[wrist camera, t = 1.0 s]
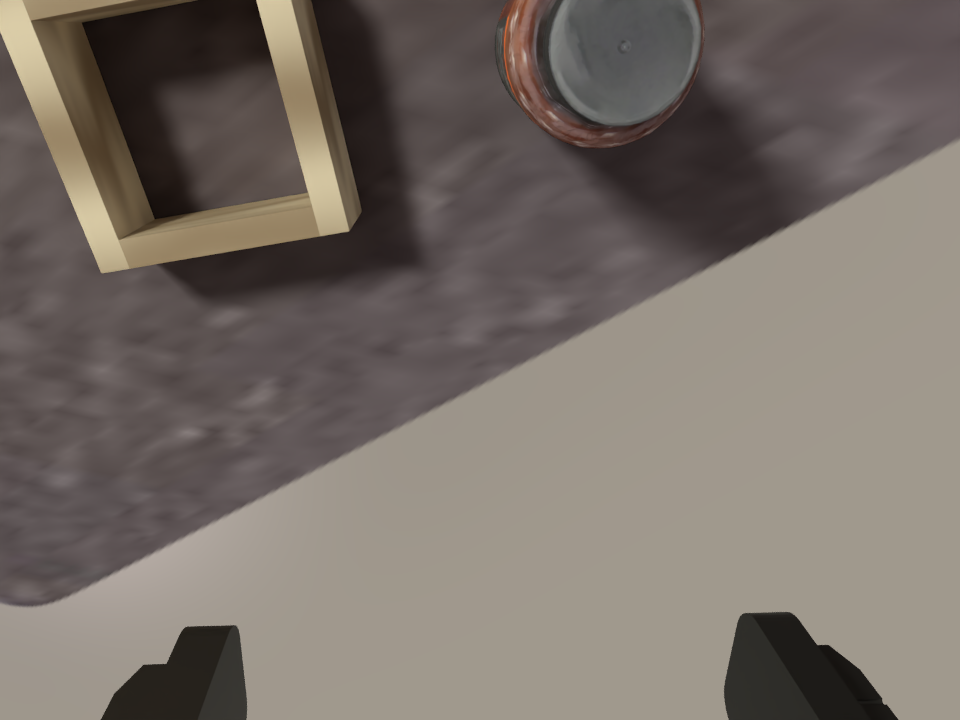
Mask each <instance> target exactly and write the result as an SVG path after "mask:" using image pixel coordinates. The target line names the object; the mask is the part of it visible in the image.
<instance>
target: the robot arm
mask: <svg viewBox="0 0 960 720" xmlns="http://www.w3.org/2000/svg"><path fill="white" fill-rule="evenodd" d="M724 698H725V705H726V711H727V715H728V718H729V720H898V719H897V717H896V716H895V715H894V713H893V712H892V711H891V710H890V708H889V707H888V706H887V705H884V704H883V702H882V698H881V697H880V695H879V694H878V693H877V691H876V690H875V689H874V687H873V686H872V685H871V683H870V682H869V681H868V680H867V678H866V677H865V676H864V674H863V673H862V672H861V670H860V669H858V668H857V667H856V666H855V665H853V664H852V663H851V662H850V661H848V660H847V659H846V658H844V657H843V656H842V655H841V654H839V653H838V652H836V651H835V650H834V649H833V648H832V647H830V646H829V645H817V644H816V643H815V642H814V640H813V639H812V638H811V636H810V635H809V633H808V632H807V631H806V629H805V628H804V626H803V625H802V624H801V622H800V621H799V620H798V618H797V617H796V616H795V615H793V614H792V613H789V612H776V613H775V612H774V613H773V612H772V613H745V614H742V615H741V616H740V618H739V620H738V623H737V628H736V632H735V637H734V642H733V647H732V652H731V656H730V661H729V666H728V670H727V675H726V680H725V686H724ZM246 718H247V698H246V689H245V679H244V670H243V661H242V652H241V643H240V635H239V630H238V628H237V627H236V626H234V625H233V626H197V627H196V626H195V627H185V628H184V629H183V631H182V632H181V634H180V635H179V638H178V640H177V642H176V644H175V646H174V649H173V651H172V653H171V655H170V657H169V660H168V662H167V664H152V665H143V666H142V667H141V668H140V669H139V670H138V671H137V672H136V673H135V674H134V675H133V676H132V677H131V678H130V679H129V680H128V681H127V682H126V683H125V684H124V685H123V686H122V687H121V688H120V689H119V690H118V691H117V692H116V693H115V694H114V696H113V697H112V699H111V701H110V703H109V705H108V707H107V709H106V711H105V713H104V715H103V717H102V719H101V720H246Z"/></svg>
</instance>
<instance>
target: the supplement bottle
mask: <svg viewBox="0 0 960 720" xmlns="http://www.w3.org/2000/svg"><path fill="white" fill-rule="evenodd" d="M704 30H705V29H704V20H703V13H702V7H701V2H700V0H507V3H506V5H505V6H504V8H503V11H502V13H501V16H500V19H499V22H498V25H497V29H496V34H495V55H496V63H497V67H498V71H499V74H500V77H501V80H502V82H503V84H504V86H505V88H506V90H507V91H508V93H509V95H510V96H511V97H512V99H513V100H514V101H515V102H516V103H517V104H518V106H520V108H521V109H522V110H523V111H524V112H525V113H526V115H528V117H529V118H530V119H531V120H532V121H533V122H534V123H535V124H537V125H538V126H539V127H540V128H542V129H543V130H544V131H546V132H547V133H549V134H550V135H552V136H553V137H555V138H557V139H559V140H561V141H563V142H566V143H569V144H571V145H575V146H578V147H584V148H612V147H618V146H620V145H625V144H627V143H630V142H633V141H635V140H639V139H640V138H643V137H644V136H646V135H649V134H650V133H652V132H653V131H654V130H655V129H656V128H658V127H659V126H661V125H662V124H663V123H664V122H665V121H666V120H667V119H668V118H669V117H670V116H671V115H672V114H673V113H674V112H675V111H676V110H677V108H678V107H679V106H680V105H681V103H682V102H683V100H684V99H685V97H686V96H687V95H688V93H689V91H690V89H691V87H692V85H693V83H694V81H695V78H696V75H697V72H698V70H699V67H700V61H701V57H702V53H703V45H704V41H705V40H704Z"/></svg>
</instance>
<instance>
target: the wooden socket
mask: <svg viewBox="0 0 960 720" xmlns="http://www.w3.org/2000/svg"><path fill="white" fill-rule="evenodd" d="M191 1H196V0H0V32H1V35H2V37H3V39H4V42H5V44H6V47H7V49H8V51H9V54H10V56H11V58H12V61H13V63H14V66H15V68H16V70H17V73H18V75H19V78H20V80H21V82H22V85H23V87H24V89H25V92H26V94H27V97H28V99H29V101H30V104H31V106H32V109H33V111H34V113H35V116H36V118H37V120H38V123H39V125H40V128H41V130H42V132H43V135H44V137H45V140H46V142H47V144H48V147H49V149H50V151H51V154H52V156H53V159H54V161H55V163H56V166H57V168H58V171H59V173H60V175H61V178H62V180H63V182H64V185H65V187H66V190H67V192H68V194H69V197H70V199H71V202H72V204H73V206H74V209H75V211H76V213H77V216H78V218H79V221H80V223H81V225H82V228H83V230H84V233H85V235H86V237H87V240H88V242H89V244H90V247H91V249H92V252H93V254H94V256H95V259H96V261H97V264H98V266H99V268H100V271H101V273H107V272H112V271H118V270H124V269H130V268H136V267H142V266H148V265H154V264H160V263H165V262H171V261H177V260H183V259H189V258H195V257H201V256H207V255H213V254H219V253H224V252H230V251H236V250H242V249H248V248H254V247H260V246H266V245H272V244H277V243H283V242H289V241H295V240H301V239H307V238H313V237H319V236H325V235H331V234H336V233H342V232H348V231H350V230H351V228H352V226H353V225H354V223H355V222H356V220H357V219H358V217H359V215H360V214H361V212H362V209H361V205H360V201H359V197H358V192H357V188H356V184H355V180H354V176H353V172H352V167H351V163H350V159H349V155H348V151H347V147H346V143H345V138H344V134H343V130H342V126H341V122H340V118H339V114H338V109H337V105H336V101H335V97H334V93H333V89H332V85H331V80H330V76H329V72H328V68H327V64H326V60H325V56H324V51H323V47H322V43H321V39H320V35H319V31H318V27H317V22H316V18H315V14H314V10H313V6H312V2H311V0H256V1H257V5H258V9H259V12H260V16H261V20H262V24H263V27H264V31H265V35H266V38H267V42H268V46H269V49H270V53H271V57H272V60H273V64H274V68H275V71H276V75H277V79H278V83H279V86H280V90H281V94H282V97H283V101H284V105H285V108H286V112H287V116H288V119H289V123H290V127H291V130H292V134H293V138H294V141H295V145H296V149H297V153H298V156H299V160H300V164H301V167H302V171H303V175H304V178H305V182H306V186H307V189H308V193H304V194H298V195H292V196H286V197H281V198H275V199H269V200H263V201H258V202H252V203H246V204H240V205H235V206H229V207H223V208H217V209H212V210H206V211H200V212H194V213H189V214H183V215H177V216H171V217H166V218H160V219H154V216H153V213H152V210H151V208H150V205H149V202H148V200H147V197H146V194H145V192H144V189H143V186H142V184H141V181H140V178H139V176H138V173H137V170H136V167H135V165H134V162H133V159H132V157H131V154H130V151H129V149H128V146H127V143H126V141H125V138H124V135H123V132H122V130H121V127H120V124H119V122H118V119H117V116H116V114H115V111H114V108H113V106H112V103H111V100H110V98H109V95H108V92H107V89H106V87H105V84H104V81H103V79H102V76H101V73H100V71H99V68H98V65H97V63H96V60H95V57H94V55H93V52H92V49H91V46H90V44H89V41H88V38H87V36H86V33H85V30H84V28H83V25H82V22H88V21H93V20H98V19H103V18H108V17H114V16H119V15H124V14H129V13H134V12H139V11H145V10H150V9H155V8H160V7H165V6H170V5H176V4H181V3H186V2H191Z"/></svg>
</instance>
